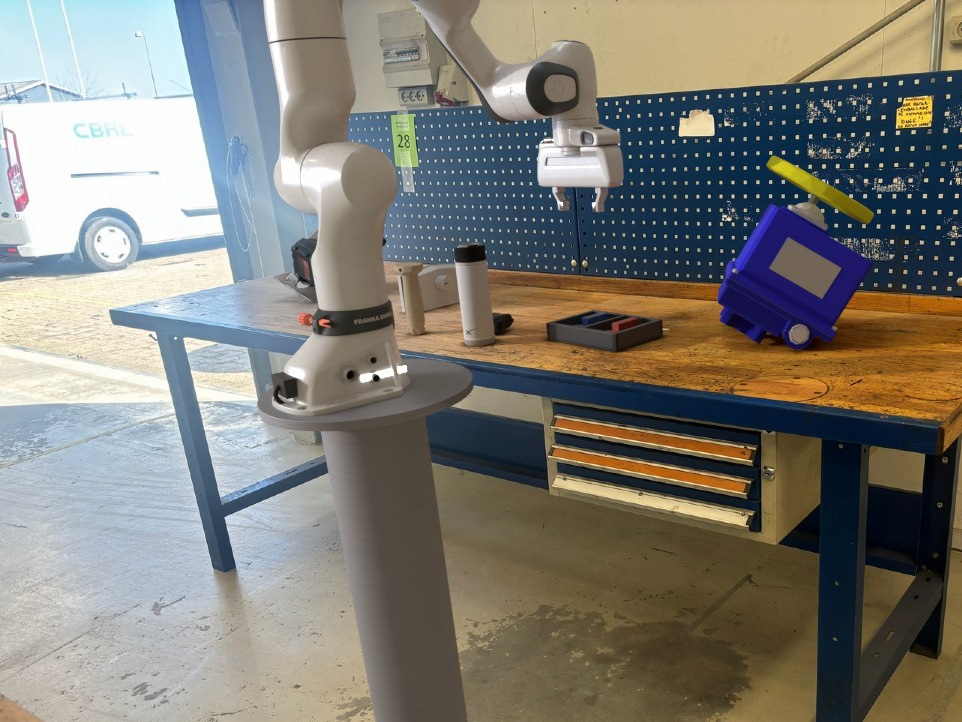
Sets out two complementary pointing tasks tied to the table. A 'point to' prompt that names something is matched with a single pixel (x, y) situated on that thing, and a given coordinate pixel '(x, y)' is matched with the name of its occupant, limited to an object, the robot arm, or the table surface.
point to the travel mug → (474, 295)
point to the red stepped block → (624, 324)
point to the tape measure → (502, 322)
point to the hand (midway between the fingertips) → (580, 211)
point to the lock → (435, 286)
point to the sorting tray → (604, 331)
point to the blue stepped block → (593, 319)
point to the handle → (412, 296)
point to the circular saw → (303, 267)
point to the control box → (794, 268)
